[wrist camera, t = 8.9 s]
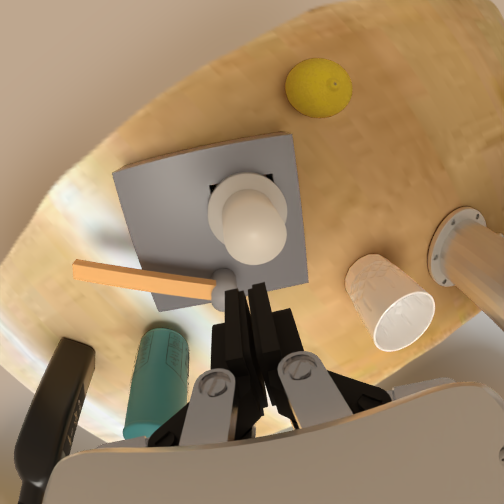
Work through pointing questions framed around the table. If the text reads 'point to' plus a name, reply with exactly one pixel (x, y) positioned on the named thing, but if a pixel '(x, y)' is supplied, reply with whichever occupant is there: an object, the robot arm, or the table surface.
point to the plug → (249, 217)
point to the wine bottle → (52, 418)
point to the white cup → (388, 302)
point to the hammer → (159, 281)
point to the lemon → (318, 88)
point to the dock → (196, 213)
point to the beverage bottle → (157, 382)
